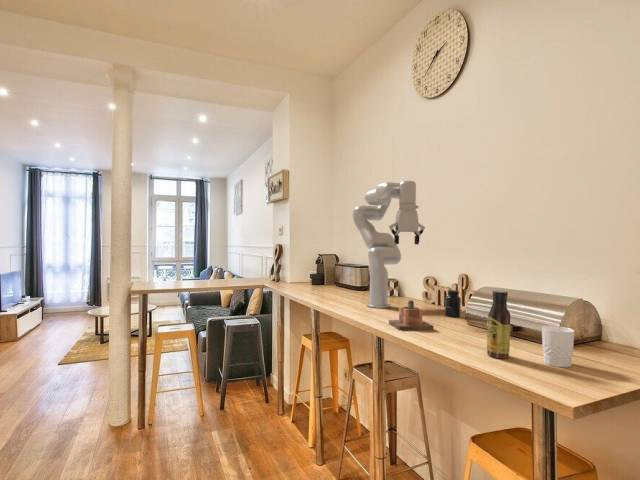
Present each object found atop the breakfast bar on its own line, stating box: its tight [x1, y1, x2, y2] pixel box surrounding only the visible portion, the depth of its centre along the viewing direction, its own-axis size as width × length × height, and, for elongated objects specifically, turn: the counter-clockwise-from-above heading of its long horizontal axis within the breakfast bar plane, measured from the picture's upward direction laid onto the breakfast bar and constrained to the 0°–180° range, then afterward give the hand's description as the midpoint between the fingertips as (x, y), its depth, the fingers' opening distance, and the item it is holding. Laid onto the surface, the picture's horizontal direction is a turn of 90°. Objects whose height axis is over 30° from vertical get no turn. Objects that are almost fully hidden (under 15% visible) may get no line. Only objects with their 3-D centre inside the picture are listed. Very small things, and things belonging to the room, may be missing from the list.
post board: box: [388, 299, 434, 332], centre depth 149 cm, size 12×14×11 cm
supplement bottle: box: [444, 289, 462, 318], centre depth 172 cm, size 7×7×12 cm
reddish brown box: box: [398, 306, 423, 325], centre depth 149 cm, size 7×7×6 cm
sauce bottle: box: [486, 289, 511, 359], centre depth 111 cm, size 7×6×20 cm
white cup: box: [541, 325, 575, 368], centre depth 105 cm, size 8×8×10 cm
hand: (406, 244), depth 172 cm, fingers open, 9 cm apart
